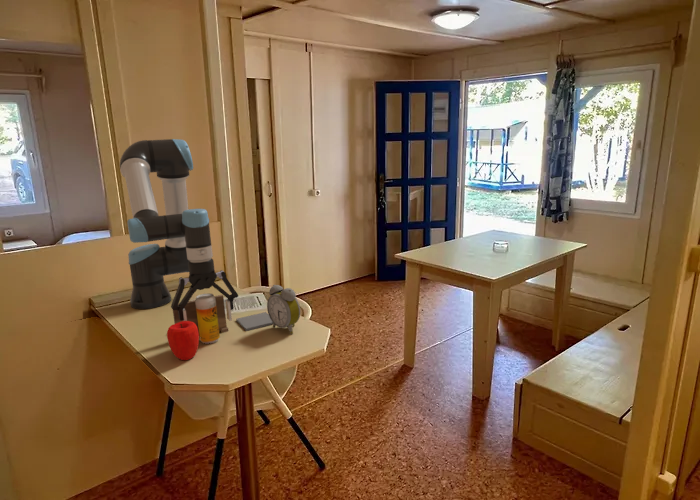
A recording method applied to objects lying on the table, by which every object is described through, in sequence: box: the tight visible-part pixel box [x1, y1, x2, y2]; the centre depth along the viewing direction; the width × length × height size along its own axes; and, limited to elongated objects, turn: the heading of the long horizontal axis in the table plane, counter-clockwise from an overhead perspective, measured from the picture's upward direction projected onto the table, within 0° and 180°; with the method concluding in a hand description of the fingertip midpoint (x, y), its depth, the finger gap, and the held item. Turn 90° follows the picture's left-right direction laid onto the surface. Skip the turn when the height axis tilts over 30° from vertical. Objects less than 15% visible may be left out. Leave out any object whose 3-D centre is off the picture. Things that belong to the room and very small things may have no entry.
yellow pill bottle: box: [194, 293, 221, 345], centre depth 144 cm, size 6×6×15 cm
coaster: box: [236, 311, 273, 332], centre depth 159 cm, size 11×11×1 cm
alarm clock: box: [266, 284, 301, 335], centre depth 150 cm, size 12×7×15 cm, turn 47°
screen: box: [172, 294, 229, 337], centre depth 149 cm, size 5×16×12 cm, turn 120°
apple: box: [166, 321, 200, 361], centre depth 133 cm, size 9×9×11 cm
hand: (208, 324), depth 144 cm, fingers open, 13 cm apart
